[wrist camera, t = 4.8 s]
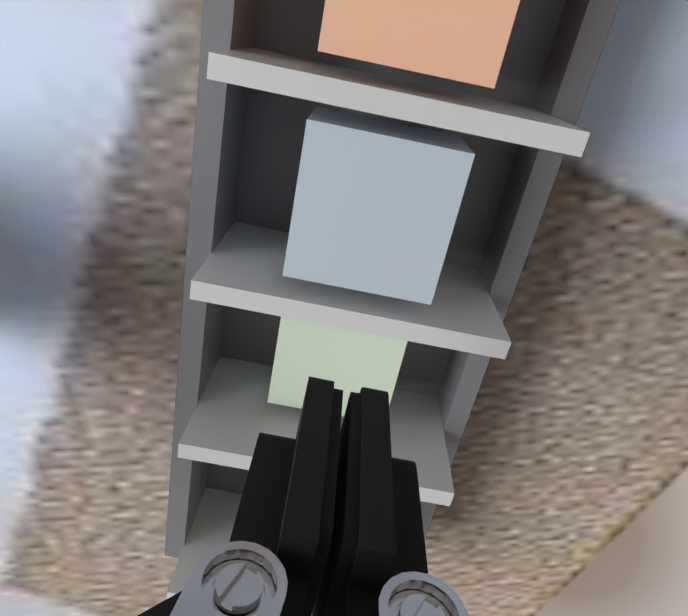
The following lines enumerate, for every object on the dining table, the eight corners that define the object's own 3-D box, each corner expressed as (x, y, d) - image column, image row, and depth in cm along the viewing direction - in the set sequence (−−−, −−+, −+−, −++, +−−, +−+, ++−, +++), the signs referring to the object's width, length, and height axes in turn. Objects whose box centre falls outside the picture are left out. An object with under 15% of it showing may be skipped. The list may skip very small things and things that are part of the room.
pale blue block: (317, 105, 17) (306, 118, 14) (458, 135, 17) (475, 154, 14) (295, 241, 19) (282, 275, 16) (422, 266, 19) (431, 304, 16)
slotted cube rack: (265, -255, 16) (199, -432, 10) (638, -166, 16) (792, -284, 10) (194, 482, 28) (146, 601, 22) (407, 520, 28) (417, 647, 22)
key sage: (295, 263, 21) (284, 295, 19) (407, 285, 21) (413, 321, 19) (279, 359, 23) (267, 402, 20) (383, 379, 23) (384, 424, 21)
